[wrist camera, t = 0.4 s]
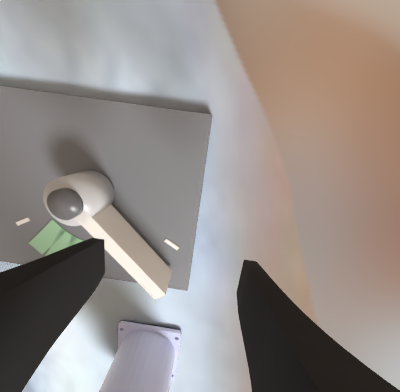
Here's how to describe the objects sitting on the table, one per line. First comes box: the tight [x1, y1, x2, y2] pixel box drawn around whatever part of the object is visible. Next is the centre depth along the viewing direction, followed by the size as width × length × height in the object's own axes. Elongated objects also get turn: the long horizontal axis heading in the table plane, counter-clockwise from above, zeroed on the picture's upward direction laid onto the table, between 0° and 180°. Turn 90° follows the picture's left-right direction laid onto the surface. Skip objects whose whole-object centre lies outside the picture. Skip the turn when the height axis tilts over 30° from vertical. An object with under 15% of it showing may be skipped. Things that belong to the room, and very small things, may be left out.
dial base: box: [0, 86, 212, 291], centre depth 19 cm, size 18×22×1 cm
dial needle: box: [43, 170, 172, 300], centre depth 17 cm, size 13×4×4 cm, turn 37°
